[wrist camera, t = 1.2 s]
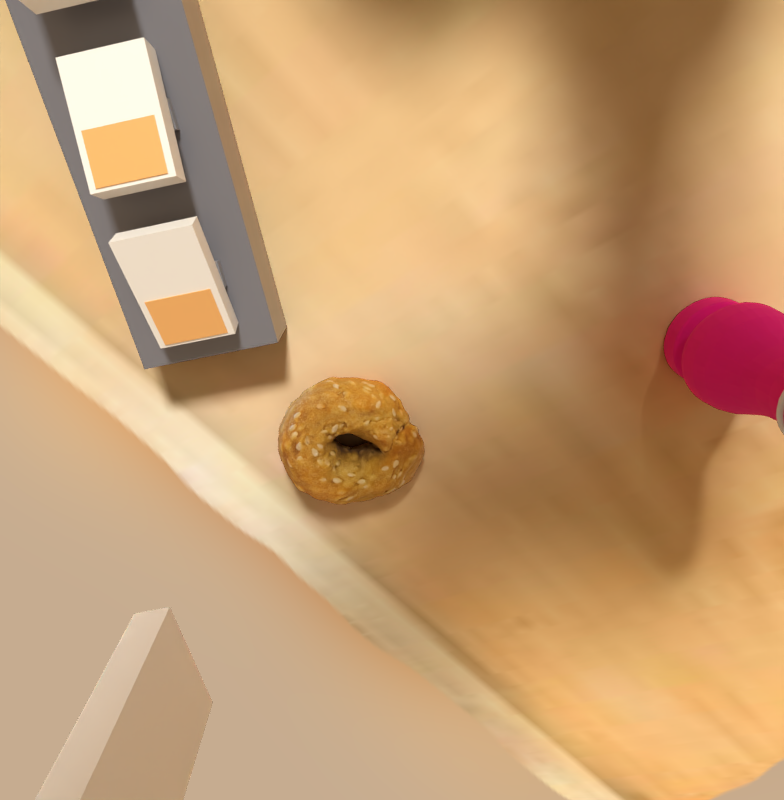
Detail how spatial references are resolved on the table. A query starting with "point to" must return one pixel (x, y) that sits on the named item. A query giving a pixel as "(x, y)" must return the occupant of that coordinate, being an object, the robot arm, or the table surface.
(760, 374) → the pepper mill
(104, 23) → the rocker switch panel
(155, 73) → the rocker
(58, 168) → the table surface
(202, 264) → the rocker
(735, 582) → the table surface
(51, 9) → the rocker
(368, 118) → the table surface
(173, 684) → the robot arm
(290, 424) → the bagel
